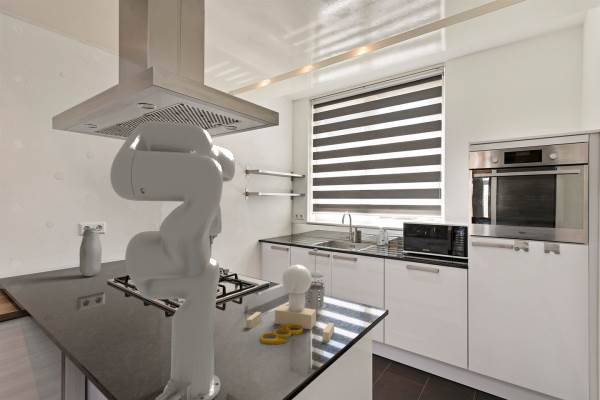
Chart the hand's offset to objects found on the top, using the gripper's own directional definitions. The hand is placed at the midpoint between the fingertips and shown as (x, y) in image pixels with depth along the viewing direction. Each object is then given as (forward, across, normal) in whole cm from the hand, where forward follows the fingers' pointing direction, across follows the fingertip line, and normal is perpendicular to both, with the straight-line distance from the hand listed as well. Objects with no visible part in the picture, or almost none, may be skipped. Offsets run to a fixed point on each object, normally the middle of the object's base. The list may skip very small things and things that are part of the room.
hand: (205, 257), depth 93 cm
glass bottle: (+27, +46, +113) cm, 125 cm away
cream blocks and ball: (+27, +24, -21) cm, 42 cm away
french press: (+27, +46, -23) cm, 58 cm away
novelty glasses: (+28, +15, -20) cm, 38 cm away
